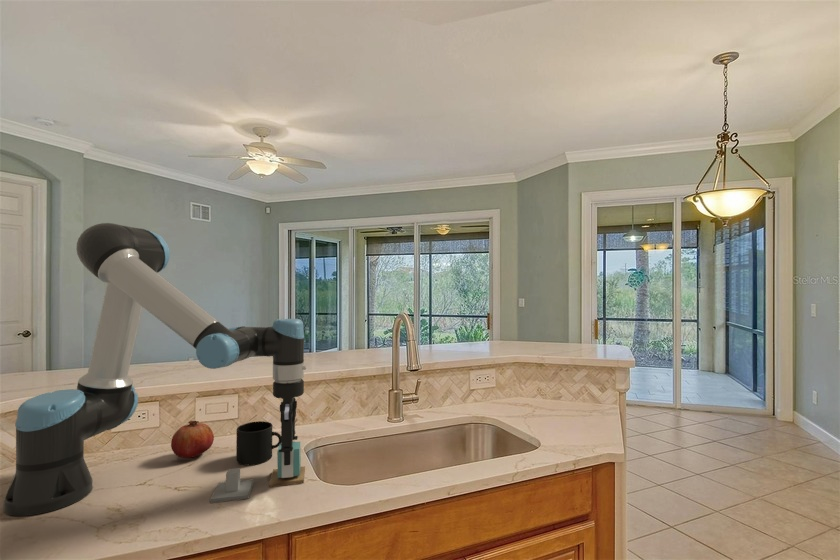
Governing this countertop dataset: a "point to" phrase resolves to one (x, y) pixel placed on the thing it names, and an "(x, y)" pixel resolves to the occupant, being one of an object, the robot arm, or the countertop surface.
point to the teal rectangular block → (295, 460)
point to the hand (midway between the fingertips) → (288, 471)
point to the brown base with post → (286, 481)
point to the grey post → (232, 487)
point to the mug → (255, 443)
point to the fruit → (192, 440)
